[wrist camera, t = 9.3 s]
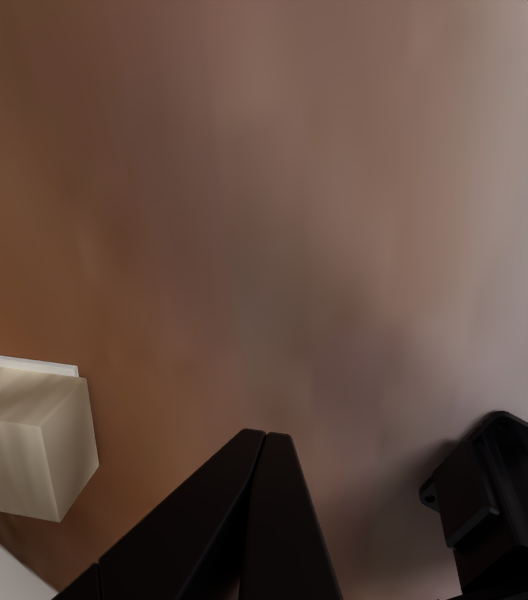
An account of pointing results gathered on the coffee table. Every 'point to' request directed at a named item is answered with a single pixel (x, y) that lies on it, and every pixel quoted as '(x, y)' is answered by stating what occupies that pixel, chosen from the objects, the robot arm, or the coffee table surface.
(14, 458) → the birch block
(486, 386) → the coffee table surface
